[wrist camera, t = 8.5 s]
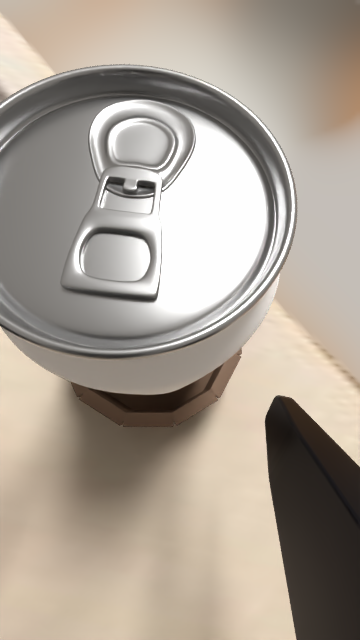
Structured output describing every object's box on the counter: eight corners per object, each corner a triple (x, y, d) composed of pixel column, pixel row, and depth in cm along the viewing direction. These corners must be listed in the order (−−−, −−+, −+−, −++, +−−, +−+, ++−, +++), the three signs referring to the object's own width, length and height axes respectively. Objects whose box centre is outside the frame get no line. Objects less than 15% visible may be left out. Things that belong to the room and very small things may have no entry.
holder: (257, 372, 16) (280, 366, 13) (120, 456, 15) (106, 474, 11) (182, 254, 18) (186, 222, 15) (56, 315, 17) (27, 295, 13)
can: (213, 296, 17) (317, 71, 5) (205, 400, 15) (338, 424, 3) (114, 284, 16) (-12, 28, 5) (93, 387, 15) (-187, 361, 3)
